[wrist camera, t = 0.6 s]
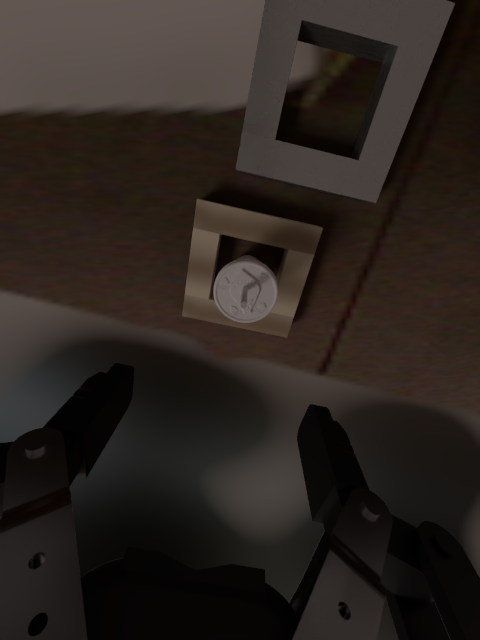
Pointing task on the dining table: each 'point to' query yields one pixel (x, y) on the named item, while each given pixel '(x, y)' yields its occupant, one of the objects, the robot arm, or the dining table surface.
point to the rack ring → (385, 103)
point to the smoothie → (245, 290)
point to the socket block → (256, 228)
